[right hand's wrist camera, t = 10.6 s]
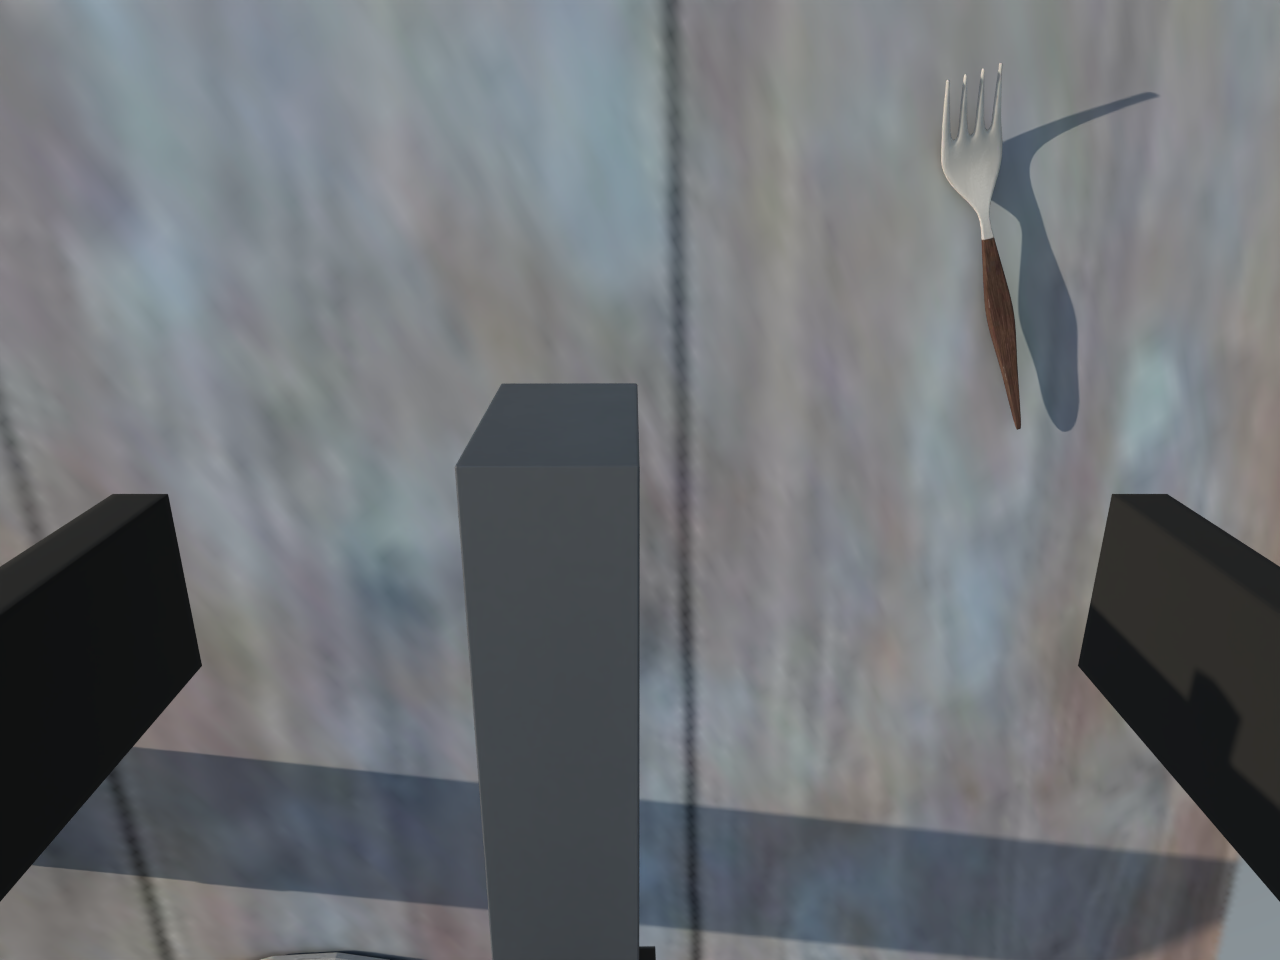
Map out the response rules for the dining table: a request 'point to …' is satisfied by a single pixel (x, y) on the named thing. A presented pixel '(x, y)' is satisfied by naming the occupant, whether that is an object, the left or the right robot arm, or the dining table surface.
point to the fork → (984, 219)
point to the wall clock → (322, 957)
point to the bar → (556, 665)
